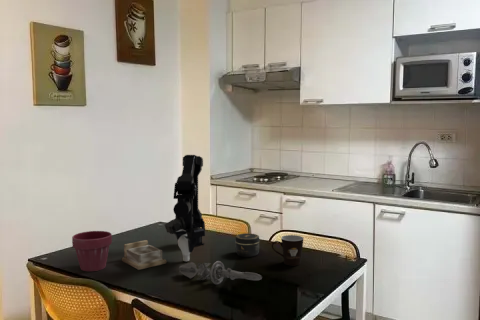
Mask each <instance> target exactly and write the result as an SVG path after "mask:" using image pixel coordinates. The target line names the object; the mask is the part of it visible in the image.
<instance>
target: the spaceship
mask: <svg viewBox="0 0 480 320" xmlns="http://www.w3.org/2000/svg"><path fill="white" fill-rule="evenodd" d="M211 264H212V262H211V263H210V262H207V263H206V262H203V263H199V262H198V263H197V264H196V263H194V261H191V262H186V263H184V264H182V265H181V264H180V265H179V267H178V269H179V273H181V274H182V275H183V276H185V277H187V278H189V279H193V278H194V277H195V276H196V275H197V276H198V277H197V278H196V280H197V281H201V280H202V281H204V280H205V279H206V280H211V282H212V283H213V284H214V285H221V283H223V280H224V278H225V279H226V278H227V279H228V278H229V279H230V280H231V281H235V279H243V280H244V279H245V280H249V281H260V280H261V281H262V279H263V276H262V275H261V274H258V273H256V272H249V271H245V272H244V271H242V272H241V271H237V270H233V269H231V267H227V268H226V267H225V265H224V263H223V262H222V261H220V260H217V261H215V262H214V263H213V264H212V265H211ZM210 265H211V267H208V266H210ZM197 266H198V268H197Z"/></svg>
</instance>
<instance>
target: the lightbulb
mask: <svg viewBox="0 0 480 320" xmlns="http://www.w3.org/2000/svg"><path fill="white" fill-rule="evenodd" d="M185 236H187V233H186V234H184V235H182V236H180V238H179V239H178V240H177V245H178V248H179V249H180V250H181V254H182V261H184V262H185V263H189V261H190V260H191V259H190V258H191V256H190V254H191V253H190V252H189V247H188V240H187V239H186V238H185Z"/></svg>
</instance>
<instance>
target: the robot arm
mask: <svg viewBox="0 0 480 320" xmlns="http://www.w3.org/2000/svg"><path fill="white" fill-rule="evenodd" d="M203 167H204V158H203V157H201V156H200V155H196V154H185V155H184V156H183V157H182V172H181V175H180V176H178V177H177V179H176V182H175V183H174V189H173V196H172V197H173V199H174V200H176V201H177V202H176V203H175V204H174V206H173V209H172V210H173V213H174V215H175V216H174V217H175V218H174V219H172V220H170V221H168V222H166V223H165V224H164V227H165V230H166V233H169V234H171V235H174V236H175V237H176V240H177V241H178V239H179V238H180V236H182V235H184V234H187V236H185V238H186V239H187V240H188V247H189V252H190V254H191V253H193V250H194V248H195V247H198V246H202V245H205V242H203V237H205V236H206V223H205V220H204V218H203V215H202V213H201V210H200V209H199V175H200V173H201V172H202V168H203Z"/></svg>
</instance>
